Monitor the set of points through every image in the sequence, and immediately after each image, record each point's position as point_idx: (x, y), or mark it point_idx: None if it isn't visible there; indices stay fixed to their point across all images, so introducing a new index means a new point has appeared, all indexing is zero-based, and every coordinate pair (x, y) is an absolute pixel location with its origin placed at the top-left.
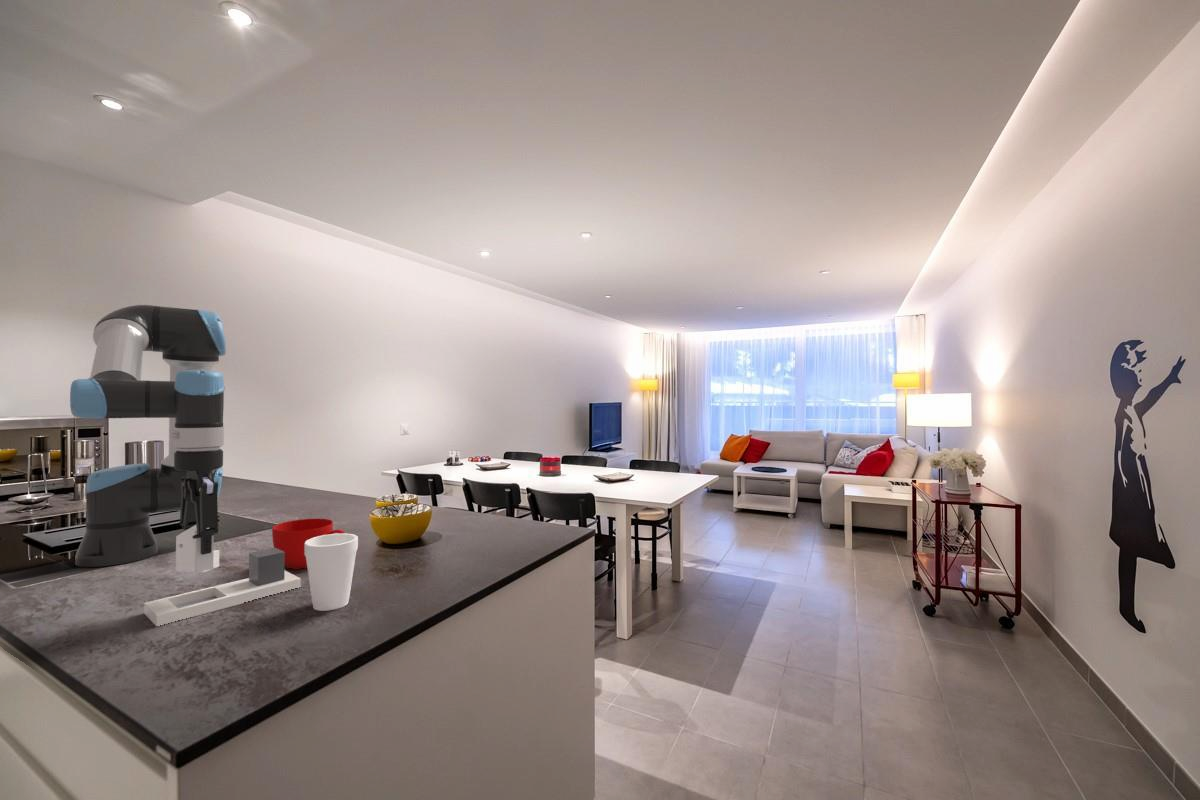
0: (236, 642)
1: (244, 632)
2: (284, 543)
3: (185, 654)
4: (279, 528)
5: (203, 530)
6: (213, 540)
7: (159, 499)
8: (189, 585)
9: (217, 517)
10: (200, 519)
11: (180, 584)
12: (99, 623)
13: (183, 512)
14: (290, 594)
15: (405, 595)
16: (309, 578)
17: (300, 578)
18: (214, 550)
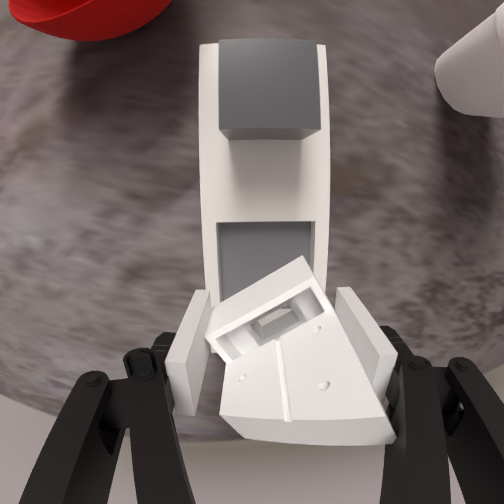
0: (480, 260)
1: (463, 240)
2: (132, 6)
3: (457, 319)
4: (22, 13)
5: (458, 413)
6: (386, 339)
7: None
8: (83, 237)
9: (501, 405)
10: (453, 457)
11: (66, 249)
12: (211, 388)
13: (112, 468)
14: (348, 89)
15: (487, 10)
16: (498, 112)
17: (323, 45)
18: (294, 288)
